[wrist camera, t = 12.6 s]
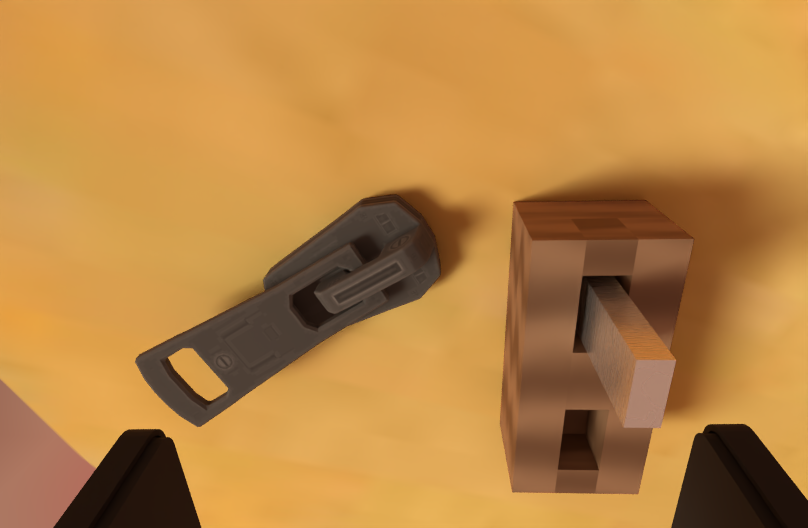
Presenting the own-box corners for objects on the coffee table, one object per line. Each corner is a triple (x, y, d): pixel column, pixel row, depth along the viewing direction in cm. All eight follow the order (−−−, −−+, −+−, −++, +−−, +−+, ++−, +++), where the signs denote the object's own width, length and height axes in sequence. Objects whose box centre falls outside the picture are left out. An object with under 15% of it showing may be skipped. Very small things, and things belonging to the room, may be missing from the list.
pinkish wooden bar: (576, 263, 38) (636, 360, 27) (604, 263, 37) (676, 360, 27) (569, 317, 39) (623, 427, 29) (596, 317, 39) (660, 427, 28)
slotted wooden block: (513, 202, 40) (532, 240, 33) (645, 200, 39) (694, 239, 32) (499, 423, 49) (512, 492, 42) (607, 424, 49) (638, 494, 41)
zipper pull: (120, 360, 40) (394, 203, 34) (160, 316, 46) (399, 177, 40) (195, 438, 43) (460, 307, 37) (224, 387, 49) (455, 268, 43)
